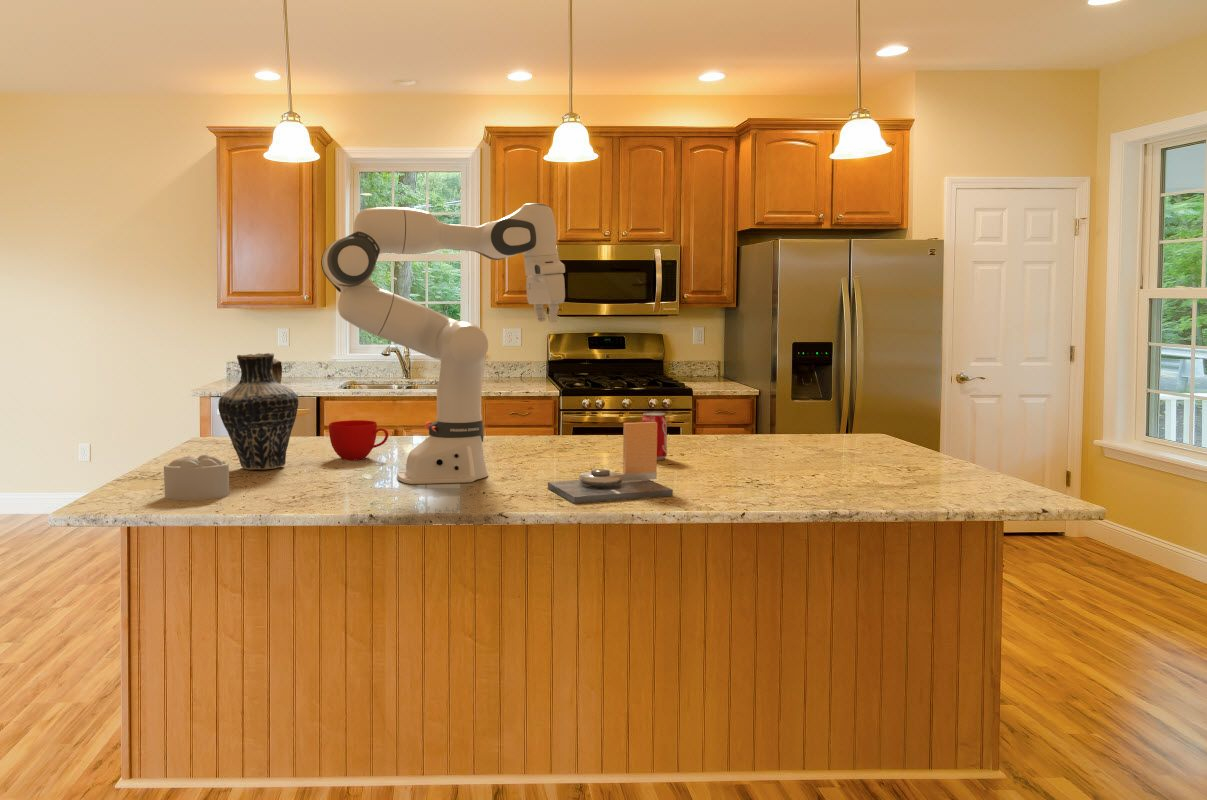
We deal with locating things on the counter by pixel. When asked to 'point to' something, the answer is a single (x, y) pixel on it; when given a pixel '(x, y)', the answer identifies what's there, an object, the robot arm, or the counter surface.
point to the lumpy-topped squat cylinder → (196, 478)
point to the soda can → (659, 432)
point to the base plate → (609, 491)
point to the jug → (259, 413)
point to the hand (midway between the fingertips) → (547, 321)
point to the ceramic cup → (354, 438)
